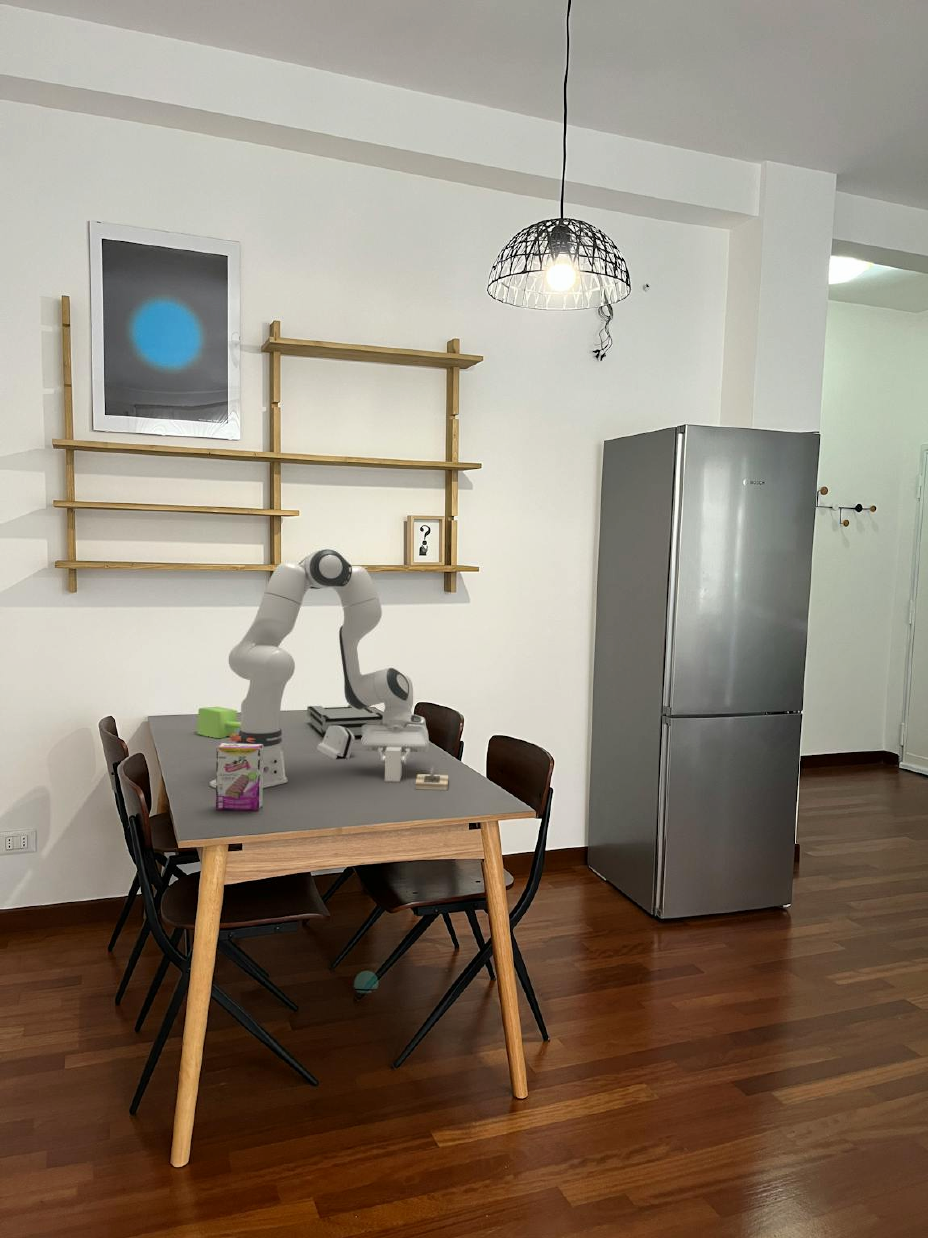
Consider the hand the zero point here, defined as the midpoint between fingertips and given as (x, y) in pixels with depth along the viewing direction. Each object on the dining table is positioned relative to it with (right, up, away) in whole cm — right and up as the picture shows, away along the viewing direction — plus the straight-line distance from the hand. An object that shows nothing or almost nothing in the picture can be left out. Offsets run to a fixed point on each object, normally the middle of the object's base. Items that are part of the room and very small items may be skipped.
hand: (393, 762), depth 271 cm
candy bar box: (-37, -7, -33) cm, 50 cm away
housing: (0, -5, +1) cm, 5 cm away
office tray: (-23, +1, +68) cm, 72 cm away
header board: (+11, -5, -5) cm, 14 cm away
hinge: (-21, -2, +32) cm, 38 cm away
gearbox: (-65, +1, +56) cm, 86 cm away
